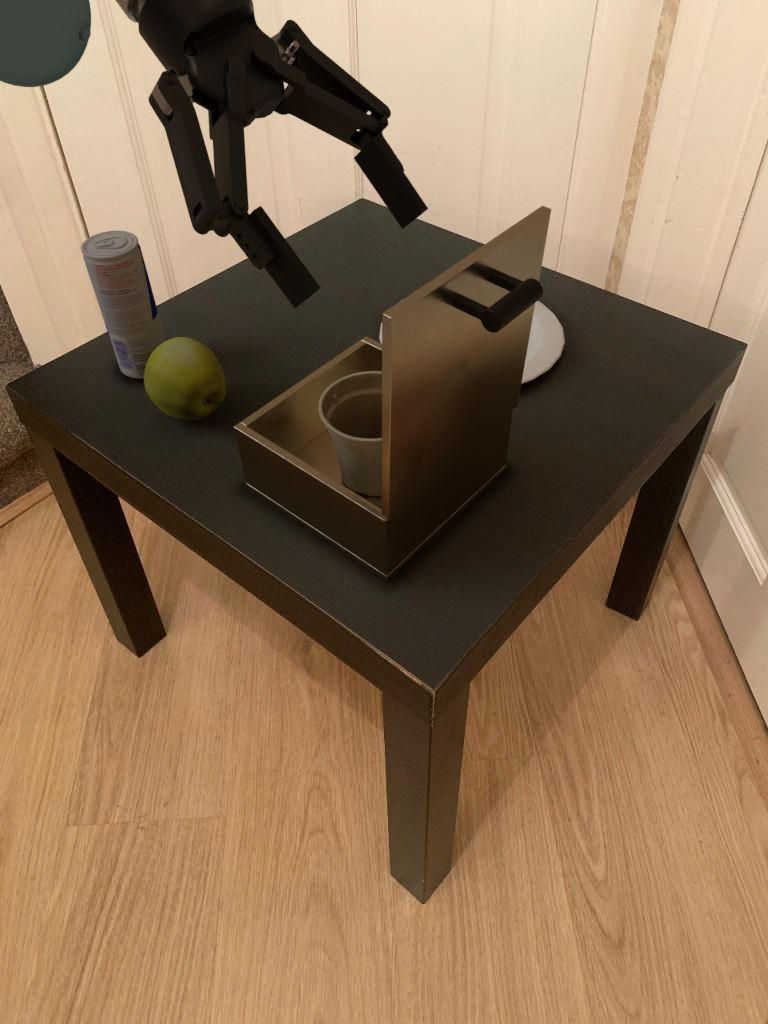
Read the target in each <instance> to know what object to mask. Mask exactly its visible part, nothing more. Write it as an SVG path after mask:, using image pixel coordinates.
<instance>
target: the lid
mask: <svg viewBox="0 0 768 1024" xmlns="http://www.w3.org/2000/svg"><path fill="white" fill-rule="evenodd" d="M551 214H552V209H551V208H550V207H548V206H545V205H541V206H540V207H538V208H536V209H535V210H533V211H532V212H531V213H529V214H528V215H526V216H524V217H523V218H522V219H520V220H519V221H517V222H516V223H514V224H513V225H511V226H510V227H508V228H507V229H505V230H504V231H502V232H501V233H499V234H498V235H497V236H495V237H493V238H492V239H490V240H489V241H488V242H486V243H485V244H483V245H481V246H480V247H478V248H477V249H475V250H474V251H473V252H472V253H470V254H468V255H467V256H465V257H463V259H461V260H460V261H458V262H456V263H455V264H454V265H451V267H449V268H448V269H446V270H444V271H443V272H442V273H440V274H439V275H437V276H436V277H434V278H432V280H429V281H428V282H427V283H425V284H423V285H422V286H420V287H419V288H418V289H416V290H415V291H413V292H412V293H411V294H409V295H407V296H406V297H404V298H403V299H401V300H402V301H401V300H400V301H399V302H397V303H395V304H394V305H393V306H391V307H389V308H388V309H387V310H385V311H384V312H382V314H381V323H382V509H381V514H382V515H383V516H385V517H386V518H388V519H390V518H391V517H392V516H393V515H394V514H395V513H397V512H398V511H399V510H400V509H401V508H402V507H403V506H404V505H406V504H407V503H408V502H409V501H410V500H411V499H412V498H414V497H415V496H416V495H417V494H418V493H419V492H420V491H421V490H423V489H424V488H425V487H426V486H427V485H428V484H429V483H431V482H432V481H433V480H434V479H435V478H436V477H437V476H439V475H440V474H441V473H442V472H443V471H444V470H445V469H446V468H448V467H449V466H450V465H451V464H452V463H453V462H454V461H456V460H457V459H458V458H459V457H460V456H461V455H462V454H464V453H465V452H466V451H467V450H468V449H469V448H470V447H471V446H473V445H474V444H475V443H476V442H477V441H478V440H479V439H481V438H482V437H483V436H484V435H485V434H486V433H487V432H488V431H490V430H491V429H492V428H493V427H494V426H495V425H496V424H498V423H499V422H500V421H501V420H502V419H503V418H504V417H506V416H507V415H508V414H509V413H510V412H511V411H512V410H513V411H514V410H515V409H516V408H517V407H518V405H519V401H520V400H519V399H520V394H521V388H522V385H521V383H522V377H523V371H524V366H525V360H526V354H527V348H528V342H529V336H530V331H531V325H532V319H533V313H534V307H535V303H536V302H537V301H539V300H541V299H542V298H543V295H544V289H543V286H542V284H541V282H540V277H541V273H542V267H543V260H544V255H545V248H546V243H547V236H548V231H549V225H550V219H551Z"/></svg>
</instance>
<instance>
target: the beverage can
mask: <svg viewBox="0 0 768 1024" xmlns="http://www.w3.org/2000/svg"><path fill="white" fill-rule="evenodd" d="M138 238H139V237H137V236H136V234H134V233H133V232H130V231H126V230H108V231H102V232H99V233H96V234H94V235H91V236H89V237H88V238H86V239H85V240H84V241H83V242H82V243H81V245H80V251H81V254H82V257H83V261H84V264H85V267H86V270H87V274H88V277H89V279H90V283H91V285H92V288H93V292H94V295H95V298H96V300H97V304H98V307H99V310H100V313H101V316H102V319H103V322H104V325H105V328H106V331H107V334H108V337H109V340H110V343H111V346H112V349H113V352H114V355H115V358H116V361H117V364H118V368H119V371H120V372H121V373H122V374H123V375H125V376H127V377H129V378H132V379H140V380H141V379H144V372H145V367H146V363H147V361H148V359H149V357H150V355H151V353H152V352H153V351H154V350H155V349H156V348H157V347H158V346H159V345H161V344H162V343H163V342H165V341H167V340H166V337H165V332H164V329H163V326H162V322H161V318H160V315H159V314H160V313H159V311H158V308H157V302H156V299H155V295H154V293H153V289H152V284H151V280H150V277H149V274H148V270H147V265H146V262H145V259H144V255H143V251H142V248H141V244H140V243H139V239H138Z"/></svg>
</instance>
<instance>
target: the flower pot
mask: <svg viewBox="0 0 768 1024" xmlns="http://www.w3.org/2000/svg"><path fill="white" fill-rule="evenodd" d="M318 411H319V415H320V418H321V420H322V422H323V423H324V425H325V426H326V427H327V430H328V431H329V433H330V434H331V436H332V440H333V444H334V448H335V451H336V455H337V458H338V462H339V466H340V470H341V474H342V478H343V481H344V483H345V484H346V485H347V486H348V487H349V488H350V489H351V490H353V491H355V492H361V493H363V494H366V495H368V496H380V495H382V371H368V372H367V371H366V372H359V373H355V374H351V375H348V376H345V377H343V378H340V379H339V380H337V381H335V382H333V383H332V384H331V385H330V386H328V387H327V388H326V389H325V391H324V392H323V393H322V395H321V397H320V400H319V403H318Z"/></svg>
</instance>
